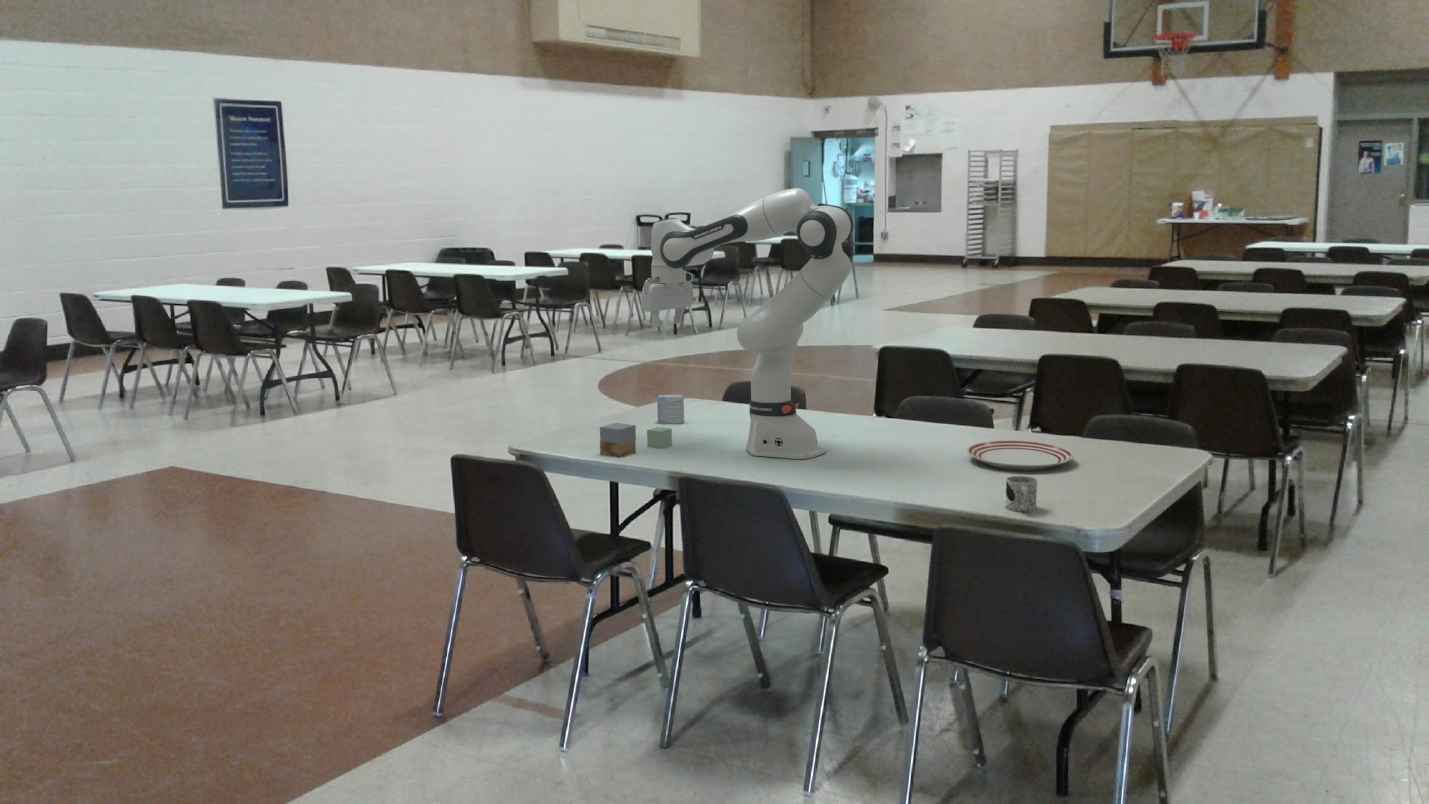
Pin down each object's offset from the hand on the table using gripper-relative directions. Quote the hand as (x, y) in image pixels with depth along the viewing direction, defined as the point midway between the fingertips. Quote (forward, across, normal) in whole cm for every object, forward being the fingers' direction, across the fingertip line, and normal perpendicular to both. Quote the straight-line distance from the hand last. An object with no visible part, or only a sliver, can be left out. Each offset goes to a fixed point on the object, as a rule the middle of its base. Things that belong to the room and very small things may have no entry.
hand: (667, 325), depth 331 cm
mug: (+34, -17, -112) cm, 118 cm away
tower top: (+30, -19, +3) cm, 36 cm away
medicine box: (+34, +24, +18) cm, 46 cm away
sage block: (+34, -6, -1) cm, 35 cm away
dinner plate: (+34, +28, -94) cm, 104 cm away
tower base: (+34, -20, +3) cm, 40 cm away
